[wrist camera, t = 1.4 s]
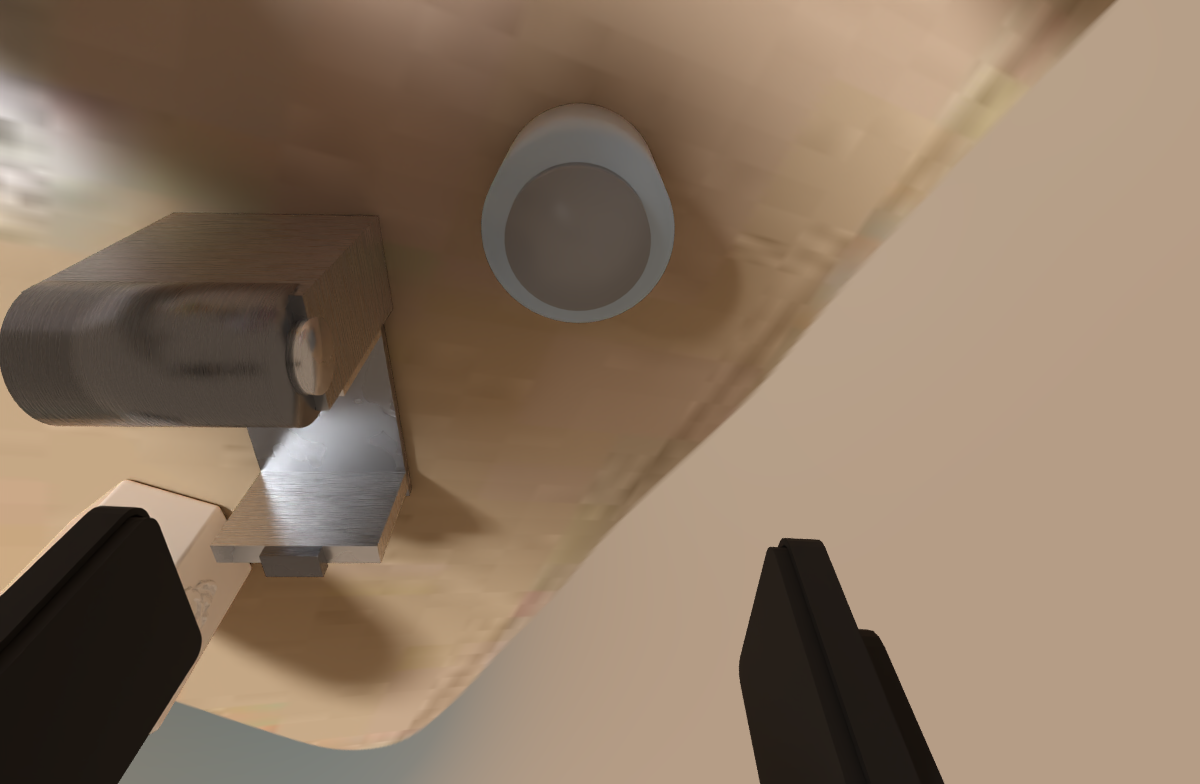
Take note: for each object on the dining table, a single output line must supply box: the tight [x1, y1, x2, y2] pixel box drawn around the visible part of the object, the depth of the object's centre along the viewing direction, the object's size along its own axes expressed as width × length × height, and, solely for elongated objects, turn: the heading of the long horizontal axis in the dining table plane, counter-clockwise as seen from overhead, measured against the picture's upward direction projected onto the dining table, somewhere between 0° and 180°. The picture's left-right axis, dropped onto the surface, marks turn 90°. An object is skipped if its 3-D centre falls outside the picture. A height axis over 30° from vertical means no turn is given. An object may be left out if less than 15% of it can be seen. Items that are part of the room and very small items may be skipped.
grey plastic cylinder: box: [481, 103, 675, 323], centre depth 22 cm, size 6×6×7 cm
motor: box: [0, 213, 412, 577], centre depth 25 cm, size 14×8×10 cm, turn 179°
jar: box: [0, 480, 252, 734], centre depth 29 cm, size 9×8×12 cm
